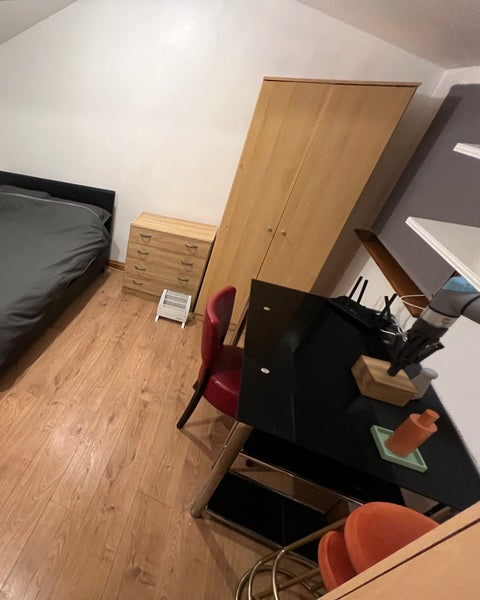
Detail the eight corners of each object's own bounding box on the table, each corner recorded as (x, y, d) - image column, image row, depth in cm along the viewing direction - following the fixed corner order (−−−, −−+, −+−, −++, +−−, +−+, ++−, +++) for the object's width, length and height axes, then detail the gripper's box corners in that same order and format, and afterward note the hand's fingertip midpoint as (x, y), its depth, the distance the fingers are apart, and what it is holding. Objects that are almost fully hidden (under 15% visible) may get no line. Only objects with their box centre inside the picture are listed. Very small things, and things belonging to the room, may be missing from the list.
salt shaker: (401, 387, 123) (424, 362, 116) (420, 397, 119) (445, 373, 112) (396, 393, 120) (418, 368, 113) (415, 404, 116) (439, 379, 109)
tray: (423, 472, 94) (427, 468, 93) (381, 458, 97) (385, 454, 96) (407, 441, 103) (411, 437, 102) (370, 428, 106) (373, 424, 105)
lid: (417, 394, 110) (419, 392, 110) (374, 381, 114) (375, 380, 113) (398, 367, 122) (400, 365, 122) (360, 356, 126) (361, 354, 126)
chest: (402, 407, 115) (415, 394, 111) (361, 394, 118) (372, 382, 115) (388, 379, 126) (398, 367, 122) (350, 368, 130) (360, 356, 126)
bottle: (411, 460, 97) (451, 426, 87) (387, 452, 98) (424, 417, 89) (403, 444, 101) (440, 409, 92) (381, 436, 103) (415, 401, 94)
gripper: (414, 322, 102) (372, 374, 115) (466, 334, 99) (417, 387, 111) (404, 310, 108) (366, 361, 121) (453, 321, 104) (408, 372, 117)
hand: (390, 373), depth 116 cm, fingers closed
